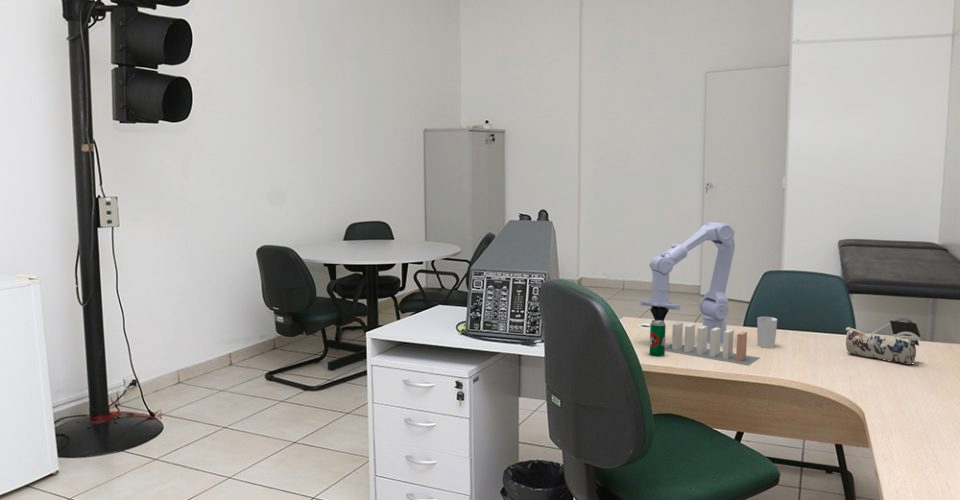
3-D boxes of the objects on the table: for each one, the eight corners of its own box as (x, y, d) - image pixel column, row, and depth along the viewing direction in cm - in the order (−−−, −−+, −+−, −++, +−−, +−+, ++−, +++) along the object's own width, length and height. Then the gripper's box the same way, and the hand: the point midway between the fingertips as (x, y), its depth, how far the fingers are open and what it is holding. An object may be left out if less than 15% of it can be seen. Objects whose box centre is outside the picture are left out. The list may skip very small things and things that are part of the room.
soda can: (664, 358, 246) (666, 323, 244) (649, 357, 247) (650, 322, 245) (664, 354, 251) (665, 320, 249) (649, 353, 252) (650, 319, 250)
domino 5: (722, 358, 244) (723, 331, 243) (727, 355, 248) (729, 329, 247) (727, 358, 243) (728, 332, 242) (732, 355, 247) (733, 329, 246)
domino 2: (684, 351, 253) (685, 326, 252) (689, 348, 257) (690, 323, 255) (688, 352, 252) (689, 326, 251) (694, 349, 256) (695, 324, 254)
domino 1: (671, 349, 255) (672, 324, 254) (677, 346, 259) (678, 321, 258) (676, 350, 254) (677, 325, 253) (682, 347, 258) (682, 322, 257)
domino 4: (709, 355, 247) (710, 329, 246) (714, 352, 251) (716, 327, 250) (714, 356, 246) (715, 330, 245) (719, 353, 250) (720, 328, 249)
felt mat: (673, 344, 264) (673, 343, 264) (760, 358, 245) (760, 357, 245) (659, 351, 255) (659, 350, 255) (748, 366, 236) (748, 365, 236)
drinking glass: (755, 347, 260) (757, 319, 259) (756, 342, 267) (757, 316, 265) (775, 349, 258) (777, 321, 257) (775, 344, 264) (777, 317, 263)
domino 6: (736, 360, 242) (737, 333, 240) (741, 357, 245) (742, 331, 244) (740, 361, 241) (742, 334, 239) (745, 358, 244) (747, 331, 243)
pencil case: (918, 363, 241) (921, 334, 240) (910, 368, 235) (912, 338, 234) (849, 350, 257) (851, 323, 256) (839, 354, 251) (841, 327, 250)
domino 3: (696, 353, 250) (697, 328, 249) (702, 350, 254) (703, 325, 253) (701, 354, 249) (702, 328, 248) (706, 351, 253) (707, 326, 252)
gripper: (636, 289, 260) (635, 326, 262) (675, 294, 251) (673, 332, 253) (645, 286, 265) (644, 323, 267) (683, 291, 257) (681, 328, 258)
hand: (659, 327), depth 260 cm, fingers closed
